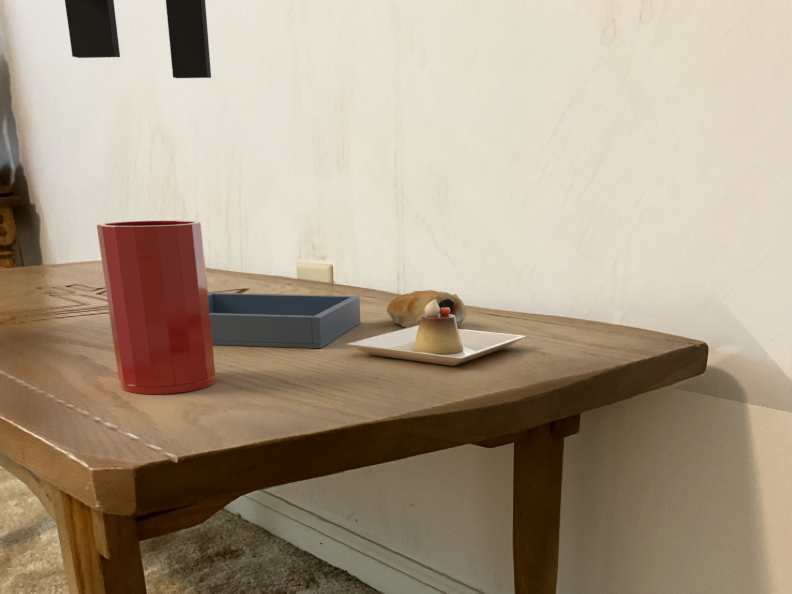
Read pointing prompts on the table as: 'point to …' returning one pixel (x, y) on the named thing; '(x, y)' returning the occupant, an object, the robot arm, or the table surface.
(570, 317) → the table surface
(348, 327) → the serving tray
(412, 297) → the pastry
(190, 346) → the cup
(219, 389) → the table surface
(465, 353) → the dessert
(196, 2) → the robot arm
